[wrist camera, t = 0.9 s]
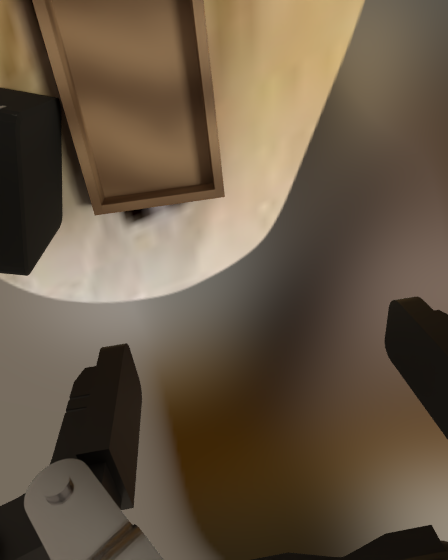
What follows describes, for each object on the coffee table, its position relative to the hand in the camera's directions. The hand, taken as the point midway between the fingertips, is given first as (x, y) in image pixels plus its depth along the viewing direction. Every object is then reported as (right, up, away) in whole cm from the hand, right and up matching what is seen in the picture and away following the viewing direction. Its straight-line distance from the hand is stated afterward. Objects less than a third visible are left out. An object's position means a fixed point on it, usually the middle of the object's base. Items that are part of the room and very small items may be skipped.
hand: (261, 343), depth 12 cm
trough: (-7, +16, +17) cm, 25 cm away
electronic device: (-16, +11, +19) cm, 27 cm away
